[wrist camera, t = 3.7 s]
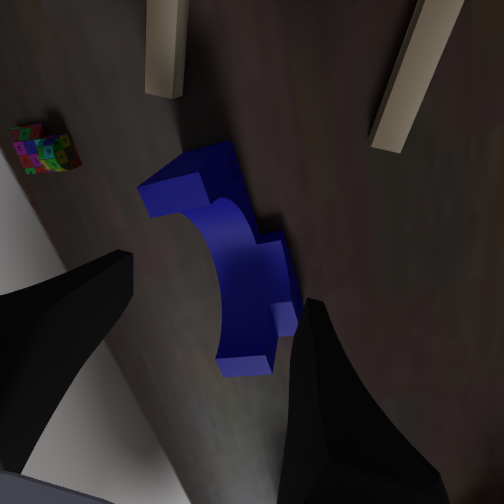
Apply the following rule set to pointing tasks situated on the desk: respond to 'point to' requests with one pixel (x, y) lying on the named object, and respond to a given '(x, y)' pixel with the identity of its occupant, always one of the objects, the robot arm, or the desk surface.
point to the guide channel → (396, 94)
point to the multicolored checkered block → (44, 150)
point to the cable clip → (233, 255)
